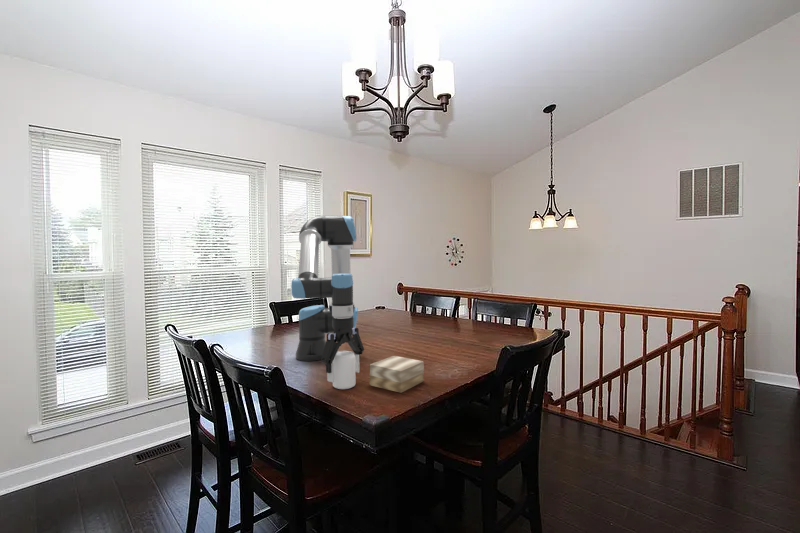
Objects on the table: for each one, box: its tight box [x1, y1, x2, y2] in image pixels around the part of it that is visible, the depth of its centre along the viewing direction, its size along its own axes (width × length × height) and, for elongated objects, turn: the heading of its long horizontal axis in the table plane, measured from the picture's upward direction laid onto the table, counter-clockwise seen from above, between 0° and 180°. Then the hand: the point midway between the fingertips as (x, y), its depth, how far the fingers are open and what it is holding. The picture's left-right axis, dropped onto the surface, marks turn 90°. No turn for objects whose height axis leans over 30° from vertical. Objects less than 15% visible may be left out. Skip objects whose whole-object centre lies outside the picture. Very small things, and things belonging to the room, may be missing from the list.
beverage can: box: [332, 350, 357, 390], centre depth 138 cm, size 8×8×12 cm
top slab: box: [369, 355, 425, 383], centre depth 141 cm, size 14×14×4 cm
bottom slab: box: [369, 372, 424, 394], centre depth 141 cm, size 14×14×4 cm
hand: (344, 376), depth 138 cm, fingers open, 12 cm apart
